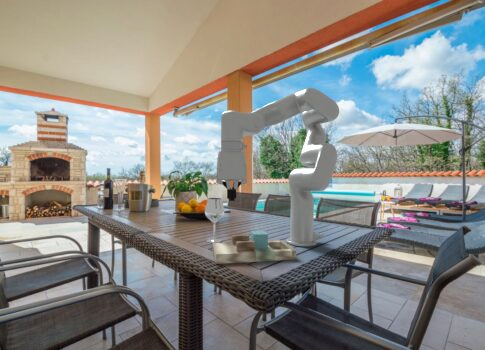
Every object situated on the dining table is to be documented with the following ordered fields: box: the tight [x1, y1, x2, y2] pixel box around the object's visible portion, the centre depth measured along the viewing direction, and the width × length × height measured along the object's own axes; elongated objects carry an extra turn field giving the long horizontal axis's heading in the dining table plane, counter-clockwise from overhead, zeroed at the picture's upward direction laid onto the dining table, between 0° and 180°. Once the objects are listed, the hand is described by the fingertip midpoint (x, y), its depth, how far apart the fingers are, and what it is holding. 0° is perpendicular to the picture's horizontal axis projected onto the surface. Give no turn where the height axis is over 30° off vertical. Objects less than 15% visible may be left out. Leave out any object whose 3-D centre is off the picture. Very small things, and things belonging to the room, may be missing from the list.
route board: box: [211, 234, 297, 265], centre depth 86 cm, size 27×13×6 cm, turn 102°
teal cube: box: [250, 230, 269, 249], centre depth 86 cm, size 5×5×5 cm
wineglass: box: [204, 197, 225, 244], centre depth 104 cm, size 8×8×18 cm
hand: (231, 200), depth 85 cm, fingers closed
